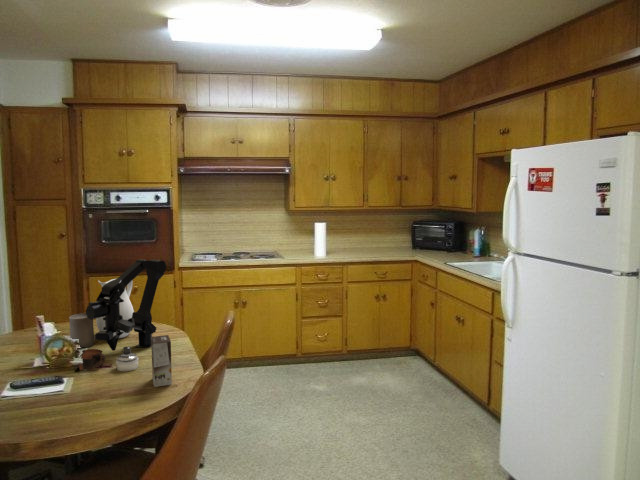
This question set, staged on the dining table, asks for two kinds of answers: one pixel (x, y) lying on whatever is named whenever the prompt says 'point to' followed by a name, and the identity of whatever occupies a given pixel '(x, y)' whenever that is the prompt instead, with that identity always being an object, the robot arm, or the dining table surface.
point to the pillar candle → (82, 329)
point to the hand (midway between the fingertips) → (113, 350)
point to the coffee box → (161, 360)
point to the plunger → (127, 355)
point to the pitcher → (125, 308)
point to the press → (127, 365)
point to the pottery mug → (91, 359)
